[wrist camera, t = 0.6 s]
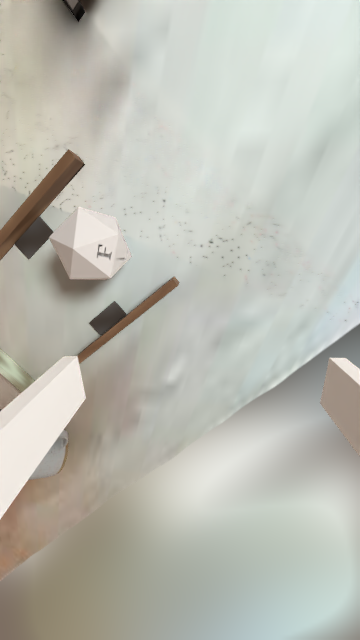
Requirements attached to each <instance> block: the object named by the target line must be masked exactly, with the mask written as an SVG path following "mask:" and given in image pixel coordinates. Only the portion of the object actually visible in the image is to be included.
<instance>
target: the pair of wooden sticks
mask: <svg viewBox="0 0 360 640" xmlns="http://www.w3.org/2000/svg"><path fill="white" fill-rule="evenodd" d="M84 165H85V164H84V163H83V161H82V160H81V159H80V158H79V156H77V155H76V154H74V153H73V152H72V151H70V150H69V149H68V151H67V152H66V153H65V154H64V155H63V157H62V158H61V159H60V160H59V161H58V162H57V164H56V165H55V166H54V167H53V168H52V170H51V171H50V172H49V173H48V174H47V176H46V177H45V178H44V179H43V180H42V181H41V183H40V184H39V185H38V186H37V187H36V189H35V190H34V191H33V192H32V193H31V195H30V196H29V197H28V198H27V199H26V201H25V202H24V203H23V204H22V205H21V206H20V208H19V209H18V210H17V211H16V212H15V214H14V215H13V216H12V217H11V218H10V220H9V221H8V222H7V223H6V224H5V225H4V227H3V228H2V229H1V230H0V260H1V259H2V258H3V257H4V255H5V254H6V253H7V252H8V251H9V250H10V249H11V247H12V246H13V245H14V244H15V245H16V246H17V247H18V248H19V249H20V250H21V251H22V252H23V253H24V254H25V255H26V256H27V258H28V259H30V258H31V257H32V256H33V255H34V253H35V252H36V251H37V250H38V249H39V248H40V247H41V246H42V245H43V244H44V243H45V242H46V241H47V240H48V238H49V237H50V236H51V235H52V234H53V233H54V232H53V231H52V230H51V229H50V228H49V226H48V225H47V224H46V223H45V222H44V221H43V220H42V219H41V217H39V216H40V215H41V214H42V212H43V211H44V210H45V209H46V208H47V207H48V206H49V205H50V203H51V202H52V201H53V200H54V199H55V198H56V197H57V196H58V194H59V193H60V192H61V191H62V190H63V189H64V188H65V187H66V185H67V184H68V183H69V182H70V181H71V180H72V179H73V178H74V176H75V175H76V174H77V173H78V172H79V171H80V170H81V168H82V167H83V166H84ZM178 284H179V282H178V280H177V279H176V278H175V277H173V278H172V279H171V280H169V281H168V282H167V283H166V284H164V285H163V286H162V287H161V288H159V289H158V290H157V291H156V292H155V293H153V294H152V295H151V296H150V297H148V298H147V299H146V300H145V301H143V302H142V303H141V304H140V305H139V306H137V307H136V308H135V309H134V310H132V311H131V312H130V313H129V314H126V313H125V312H124V311H123V310H122V309H121V307H120V306H119V305H118V304H117V303H116V302H115V301H114V302H113V303H112V304H111V305H110V306H108V307H107V308H106V309H105V310H104V311H103V312H101V313H100V314H99V315H98V316H97V317H96V318H94V319H93V320H92V321H91V322H90V324H91V325H92V326H93V328H94V329H95V330H96V331H97V332H98V333H99V334H100V335H102V334H103V333H104V332H105V333H104V334H103V335H102V336H100V337H99V338H98V339H97V340H95V341H94V342H93V343H92V344H91V345H89V346H88V347H87V348H86V349H84V350H83V351H82V352H81V353H79V354H78V355H77V357H78V362H79V364H80V363H81V362H82V361H84V360H85V359H86V358H87V357H89V356H90V355H91V354H92V353H94V352H95V351H96V350H97V349H99V348H100V347H101V346H102V345H104V344H105V343H106V342H108V341H109V340H110V339H111V338H113V337H114V336H115V335H116V334H118V333H119V332H120V331H121V330H123V329H124V328H125V327H126V326H128V325H129V324H130V323H131V322H133V321H134V320H135V319H136V318H138V317H139V316H140V315H142V314H143V313H144V312H145V311H147V310H148V309H149V308H150V307H152V306H153V305H154V304H155V303H157V302H158V301H159V300H160V299H162V298H163V297H164V296H165V295H167V294H168V293H169V292H170V291H172V290H173V289H174V288H175V287H177V286H178ZM125 315H126V316H125ZM124 316H125V317H124ZM123 317H124V318H123ZM122 318H123V319H122ZM120 319H121V320H120ZM119 320H120V321H119ZM118 321H119V322H118ZM117 322H118V323H117ZM115 323H116V324H115ZM114 324H115V325H114ZM113 325H114V326H113ZM112 326H113V327H112ZM109 328H110V329H109ZM108 329H109V330H108ZM107 330H108V331H107ZM106 331H107V332H106ZM0 373H1V374H2V375H3V376H4V377H5V378H6V379H7V380H8V381H10V382H11V383H12V384H13V385H14V386H15V387H16V388H17V389H18V390H20V391H21V392H23V391H24V390H25V389H27V388H28V387H29V386H30V385H31V384H32V383H34V382H35V380H34V379H32V378H31V377H30V376H29V375H28V374H27V373H26V372H25V371H24V370H23V369H22V368H21V367H20V366H18V365H17V364H16V363H15V362H14V361H13V360H12V359H11V358H10V357H9V356H8V355H7V354H5V353H4V352H3V351H2V350H1V349H0Z"/></svg>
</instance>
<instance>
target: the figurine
mask: <svg viewBox="0 0 360 640" xmlns="http://www.w3.org/2000/svg"><path fill="white" fill-rule="evenodd" d="M63 1H64V3H65V4H66V5H67V7H68V8H69V9H70V11H71V12H72V14H73V15H74V16H75V18H76V19H77V21H78V22H79V20H80V19H81V18H82V16H83V15H84V13H85V10H84V8H83V7H82V5H81V3H80V1H79V0H63Z"/></svg>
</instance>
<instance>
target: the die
mask: <svg viewBox="0 0 360 640" xmlns="http://www.w3.org/2000/svg"><path fill="white" fill-rule="evenodd" d="M49 239H50V241H51V242H52V244H53V246H54V248H55V250H56V252H57V254H58V256H59V258H60V260H61V262H62V264H63V266H64V268H65V270H66V272H67V274H68V276H69V278H70V279H83V280H107V279H110V278H111V277H112V276H113V275H114V274H115V273H116V272H117V271H118V270H119V269H120V268H121V267H122V266H123V265H124V264H125V263H126V262H127V261H128V260H129V259H130V258H131V257H132V256H131V253H130V251H129V248H128V246H127V243H126V241H125V239H124V236H123V234H122V231H121V229H120V226H119V224H118V222H117V219H116V217H112V216H109V215H105V214H102V213H99V212H95V211H92V210H88V209H85V208H82V207H78V208H77V209H76V210H75V211H74V212H73V213H72V214H71V215H70V216H69V217H68V218H67V219H66V220H65V221H64V222H63V223H62V224H61V225H60V226H59V227H58V228H57V229H56V230H55V231H54V233H53V234H52V235H51V236H50V237H49Z"/></svg>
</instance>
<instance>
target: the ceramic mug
mask: <svg viewBox="0 0 360 640" xmlns="http://www.w3.org/2000/svg"><path fill="white" fill-rule="evenodd" d="M67 454H68V432H67V431H66V430H63V431H62V432H61V434H60V435H59V437H58V438H57V440H56V441H55V442H54V444H53V445H52V447H51V448H50V449H49V451H48V452H47V454H46V455H45V457H44V458H43V459H42V461H41V462H40V464H39V465H38V466H37V468H36V469H35V471H34V472H33V473H32V475H31V476H30V478H29V479H28V480H32V479H38V478H45V477H50V476H53V475H56V474H58V473H59V472H60V471H61V470H62V468H63V467H64V465H65V462H66V459H67Z"/></svg>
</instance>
